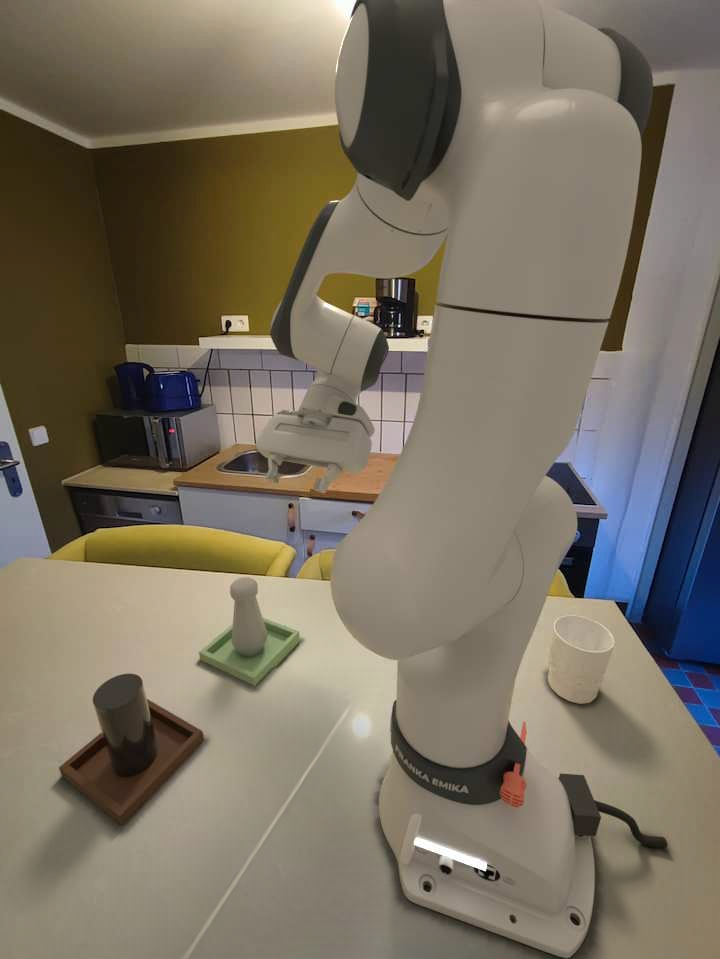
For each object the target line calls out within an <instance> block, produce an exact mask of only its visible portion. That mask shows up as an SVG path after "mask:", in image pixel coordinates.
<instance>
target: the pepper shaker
mask: <svg viewBox="0 0 720 959" xmlns="http://www.w3.org/2000/svg"><path fill="white" fill-rule="evenodd" d="M147 699H148V698H147V694H146V689H145V685H144V681H143V679H142V678H141V676H139V675H138V674H135V673H122V674H118V675H116V676H113V677H111V678H110V679H108V680H106V681H104V682H103V683H102V684H100V685H99V687H98V688H97V689H96V690H95V691H94V694H93V696H92V704H93V707H94V711H95V715H96V718H97V721H98V724H99V727H100V731H101V732H102V735H103V738H104V742H105V745H106V748H107V752H108V755H109V759H110V762H111V765H112V769H113V771H114V773H115V774H116V775H118V776H120V777H131V776H135V775H137V774H139V773H141V772H143V771H144V770H145V769H147V768H148V767H149V766H150V765H151V764H152V763H153V761H154V760H155V758H156V756H157V753H158V744H157V740H156V736H155V732H154V728H153V723H152V719H151V715H150V711H149V707H148V702H147ZM101 732H100V733H101Z"/></svg>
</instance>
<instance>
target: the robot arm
mask: <svg viewBox="0 0 720 959" xmlns="http://www.w3.org/2000/svg"><path fill="white" fill-rule="evenodd" d="M342 38H343V39H342V41H341V45H340V49H339V53H338V57H337V62H336V67H335V68H336V69H335V79H334V104H335V105H334V106H335V113H336V119H337V124H338V132H339V141H340V146H341V148H342V151H343V154H344V155H345V156H346V158H347V159H348V161H349V162H350V164H351V165H352V167H353V168H354V170H355V171H356V172H357V175H356V179H355V181H354V185H353V186H352V189H351V190H350V191H349V193H347V195H346V196H344V198H342V199H341V200H340V199H338V200H331V201H327V203H326V204H325V205H324V206H323V207H322V208H321V210H320V212H319V213H318V215H317V216H316V218H315V220H314V221H313V223H312V226H311V227H310V230H309V231H308V234H307V236H306V239H305V241H304V244H303V246H302V248H301V251H300V253H299V255H298V258H297V261H296V263H295V266H294V269H293V271H292V274H291V277H290V279H289V282H288V284H287V287H286V289H285V292H284V295H283V297H282V299H281V301H280V302H279V303H278V305H277V307H276V308H275V310H274V312H273V316H272V318H271V323H270V332H269V336H270V338H271V341H272V343H273V345H274V347H275V349H276V350H277V352H278V354H280V355H282V356H284V357H288V358H290V359H293V360H296V361H301V362H303V363H304V364H307V365H310V366H312V367H314V368H316V372H315V373H316V374H315V378H314V380H313V381H312V383H310V385H309V386H308V388H307V391H306V392H305V395H304V397H303V399H302V401H301V404H300V406H299V408H298V410H289V409H281V411H278V412H277V413H274V414H273V415H272V416H271V418H270V419H269V421H267V423H266V424H265V425H264V427H263V429H262V431H261V433H260V434H259V436H258V437H257V439H256V441H255V447H256V450H257V451H258V452H259V454H260V455H262V456H263V457H264V458H267V464H268V471H267V473H266V476H265V480H266V481H268V482H269V483H272V484H279V482H280V479H281V477H282V474H281V473H280V472H279V471H278V470H279V467H278V466H281V465H282V463H283V462H289V463H293V464H299V465H307V466H312V467H317V468H323V469H327V472H326V473H325V474H324V475H323V476H322V477H321V478H319V477H317V478H316V479H315V483H314V485H313V490H314V491H315V492H317V493H320V494H326V493H327V491H328V489H329V486H330V485H331V484H332V483H334V482H335V481H336V480H338V478H339V477H340V476H341V474H342V472H345V473H353V474H360V473H361V472H362V471H364V470H365V469H366V467H367V465H368V461H369V458H370V455H371V451H372V446H373V445H372V444H373V442H372V439H371V438H372V437H373V435H374V434H375V430H376V429H375V426H374V423H373V422H372V420H371V418H370V417H369V414H368V413H367V412H366V410H365V409H364V408H363V406H361V405H359V404H357V400H358V398H359V396H360V395H361V394H362V392H364V391H366V390H368V389H370V388H371V387H374V386H375V385H376V384H377V381H378V380H379V376H380V373H381V368H382V366H383V364H384V363H385V361H386V358H387V356H388V354H389V350H390V346H389V342H388V340H387V337H386V334H385V332H384V330H383V329H382V328H381V327H380V326H378V325H376V324H374V323H372V322H371V321H368V320H367V319H363V318H361V317H359V316H357V315H354V314H352V313H350V312H347V311H346V310H343V309H341V308H339V307H336V306H335V305H332V304H330V303H328V302H326V301H325V300H323V299H322V298H320V296H318V295H317V294H318V291H319V290H320V287H321V286H322V284H323V281H324V279H325V277H326V276H328V275H331V274H352V275H358V276H359V275H360V276H365V277H370V278H375V279H397V278H401V277H405V276H409V275H410V274H414V273H415V272H417V271H419V270H422V269H423V268H424V267H426V265H428V264H429V263H430V262H431V261H432V259H433V258H434V256H435V255H436V254H437V252H438V251H439V250H440V248H441V246H442V245H443V243H444V241H445V240H446V241H445V247H444V251H443V256H442V260H441V266H440V271H439V276H438V277H439V278H438V283H437V290H436V295H435V302H436V303H434V308H433V315H432V321H431V329H430V336H429V341H428V348H427V354H426V360H425V367H424V372H423V378H422V383H421V390H420V396H419V400H418V403H417V408H416V412H415V416H414V418H413V422H412V424H411V427H410V430H409V432H408V435H407V438H406V440H405V443H404V445H403V447H402V449H401V451H400V453H399V456H398V458H397V460H396V462H395V464H394V467H393V468H392V470H391V473H390V474H389V477H388V478H387V480H386V482H385V484H384V486H383V488H382V489H381V490H380V493H379V494H378V496H377V497H376V499H375V501H374V502H373V503H372V505H371V506H370V508H369V509H368V511H367V512H366V513H365V515H364V516H363V517H361V519H360V520H359V522H358V523H357V524H356V525H355V526H353V528H352V529H351V530H350V531H349V532H348V533H347V534H346V535H345V536H344V537H343V538H342V539H341V540H340V541H339V543H337V546H336V548H335V550H334V553H333V556H332V560H331V565H330V576H329V581H330V582H329V583H330V584H329V585H330V593H331V598H332V602H333V605H334V608H335V610H336V614H337V616H338V617H339V619H340V621H341V623H342V624H343V626H344V628H345V629H346V630H347V631H348V633H349V634H350V635H351V636H352V637H353V638H354V639H355V641H357V642H358V643H359V644H360V645H361V646H363V647H364V648H365V649H367V650H368V651H370V652H372V653H373V654H375V655H377V656H380V657H382V658H384V659H387V660H391V661H396V662H397V665H396V667H397V669H396V697H395V698H396V699H395V700H394V701H393V703H392V709H391V715H390V725H389V732H390V745H391V748H392V753H391V758H390V763H389V766H388V770H387V771H386V774H385V776H384V778H383V780H382V782H381V786H380V789H379V795H378V815H379V822H380V825H381V829H382V831H383V834H384V837H385V839H386V841H387V843H388V845H389V846H390V849H391V851H392V852H393V855H394V857H395V859H396V862H397V868H398V875H399V879H400V885H401V889H402V892H403V894H404V896H405V897H406V899H407V900H409V901H410V902H411V903H413V904H416V905H418V906H421V907H424V908H426V909H429V910H431V911H434V912H437V913H440V914H442V915H445V916H448V917H451V918H454V919H456V920H459V921H461V922H464V923H466V924H470V925H472V926H475V927H476V928H477V927H478V928H481V929H482V930H486V931H488V932H491V933H494V934H497V935H498V936H502V937H504V938H507V939H510V940H513V941H515V942H518V943H520V944H524V945H526V946H529V947H532V948H534V949H537V950H539V951H541V952H545V953H548V954H550V955H552V956H555V957H558V958H563V959H569V958H571V957H572V956H573V955H574V954H576V952H577V951H578V950H579V948H580V947H581V946H582V944H583V942H584V940H586V936H587V934H588V931H589V928H590V924H591V920H592V916H593V908H594V899H595V883H596V872H595V856H594V848H593V843H592V839H591V837H597V833H598V830H599V826H600V823H601V819H602V816H601V814H600V813H603V814H605V815H608V816H610V817H614V818H616V819H619V820H620V821H622V822H624V823H625V824H627V826H628V828H629V830H630V832H631V834H632V836H633V838H634V839H635V840H636V841H638V842H639V843H640V844H642V845H644V846H646V847H650V848H662V849H667V848H668V842H667V839H666V837H664V836H657V835H655V836H654V835H647V834H644V833H642V832H641V830H640V828H639V824H638V823H637V822H636V820H635V819H634V818H633V817H632V816H631V815H630V814H628V813H627V812H625V811H624V810H622V809H620V808H618V807H615V806H613V805H610V804H607V803H604V802H601V801H598V800H595V798H594V797H593V794H592V791H591V789H590V787H589V784H588V782H587V780H586V777H585V775H584V774H572V773H561V772H560V773H559V775H558V776H557V775H556V774H554V773H553V772H552V771H551V770H549V769H548V768H547V767H546V766H545V765H544V764H543V763H542V762H541V761H540V760H538V759H537V758H536V757H535V756H534V755H532V754H531V753H530V752H529V748H528V746H526V738H527V725H526V724H527V723H526V721H523V722H522V726H521V732H520V736H519V734H518V733H517V732H516V730H515V728H514V727H513V726H512V724H511V722H510V714H511V708H512V703H513V702H512V701H513V696H514V691H515V690H514V689H515V684H516V680H517V677H518V672H519V669H520V666H521V663H522V661H523V658H524V656H525V654H526V651H527V648H528V646H529V644H530V641H531V638H532V636H533V635H534V631H535V629H536V627H537V625H538V621H539V619H540V617H541V614H542V611H543V608H544V606H545V602H546V600H547V598H548V595H549V593H550V592H549V591H550V589H551V587H552V584H553V582H554V580H555V577H556V575H557V572H558V570H559V568H560V566H561V564H562V562H563V560H564V559H565V557H566V555H567V553H568V552H569V551H570V549H571V547H572V545H573V544H574V541H575V539H576V536H577V533H578V515H577V512H576V508H575V505H574V503H573V501H572V499H571V497H570V496H569V494H568V493H567V492H566V490H565V489H564V488H563V487H562V486H561V484H559V483H558V482H557V481H555V480H554V479H553V478H551V477H549V476H548V475H547V473H548V472H549V471H550V469H551V468H552V467H553V465H554V464H555V462H556V461H557V460H558V459H559V458H560V456H562V454H563V453H564V452H565V450H566V449H567V448H568V446H569V444H570V443H571V440H572V439H573V437H574V435H575V431H576V429H577V425H578V421H579V418H580V415H581V412H582V408H583V405H584V402H585V399H586V395H587V392H588V389H589V386H590V384H591V380H592V377H593V374H594V370H595V368H596V364H597V360H598V358H599V355H600V351H601V348H602V345H603V342H604V339H605V336H606V332H607V329H608V325H609V323H610V322H609V320H608V319H611V316H612V313H613V309H614V306H615V302H616V298H617V296H618V291H619V289H620V284H621V281H622V277H623V272H624V269H625V268H624V267H625V263H626V259H627V256H628V249H629V245H630V241H631V240H630V239H631V234H632V230H633V225H634V224H633V223H634V217H635V211H636V205H637V197H638V190H639V182H640V172H641V162H642V151H643V150H642V149H643V148H642V146H643V145H642V137H643V134H644V132H645V129H646V126H647V123H648V120H649V116H650V113H651V107H652V103H653V96H654V78H653V77H654V76H653V71H652V68H651V65H650V63H649V61H648V59H647V58H646V56H645V55H644V53H643V52H642V50H640V48H638V47H637V46H636V45H635V43H633V42H632V41H631V40H630V39H628V38H627V37H626V36H624V35H622V34H621V33H620V32H618V31H617V30H615V29H613V28H611V27H599V28H596V27H594V26H593V25H590V24H589V23H587V22H585V21H583V20H581V19H579V18H577V17H576V16H574V15H571V14H570V13H567V12H565V11H563V10H560V9H558V8H556V7H553V6H551V5H548V4H546V3H542V2H540V1H537V0H355V3H354V5H353V7H352V10H351V14H350V17H349V23H348V25H347V28H346V30H345V33H344V36H343V37H342ZM425 886H428V887H429V888H430V891H426V890H425V889H424V887H425ZM571 918H572V919H575V921H576V922H577V923H578V925H577V924H575V923H573V922H572V919H571Z"/></svg>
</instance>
